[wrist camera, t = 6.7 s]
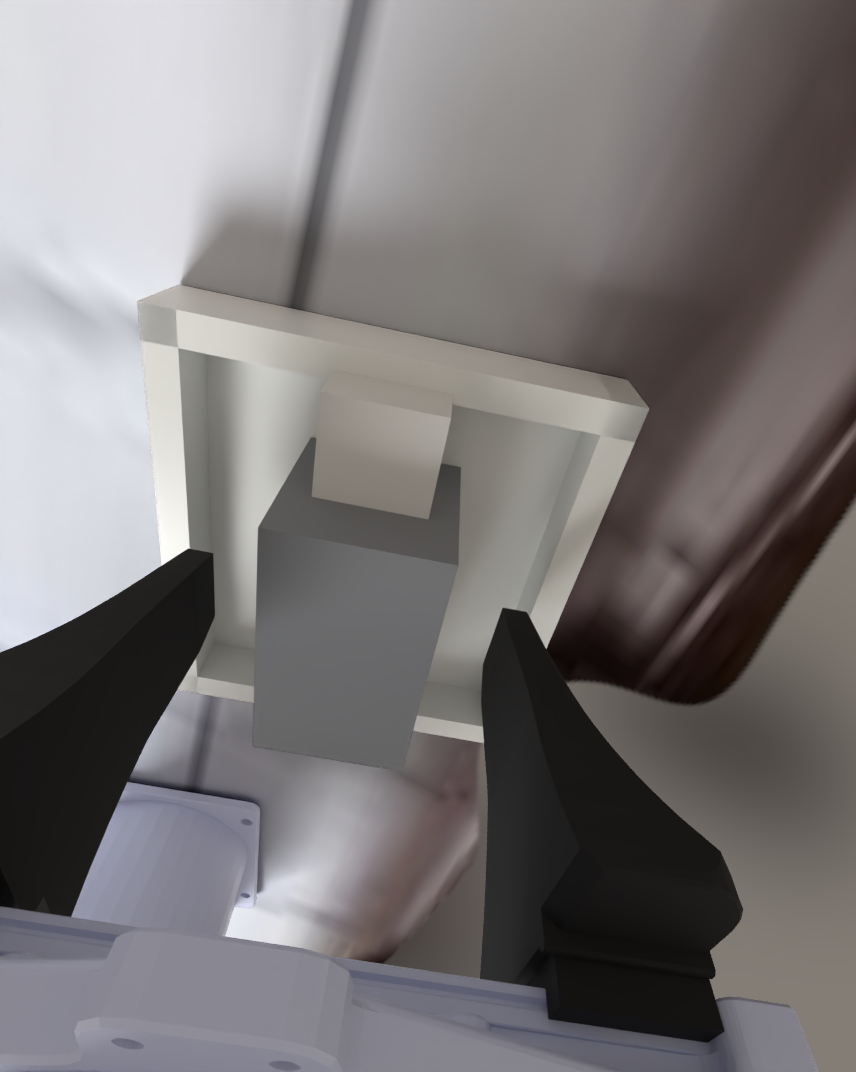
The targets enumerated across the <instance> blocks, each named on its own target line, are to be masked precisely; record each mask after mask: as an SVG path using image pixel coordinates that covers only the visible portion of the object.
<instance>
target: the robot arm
mask: <svg viewBox="0 0 856 1072" xmlns="http://www.w3.org/2000/svg"><path fill="white" fill-rule="evenodd" d="M214 617H215V594H214V560H213V553H210V552H205V551H199V550H194V549H189V548H188V549H187V550H185V551H183V552H182V553H180V554H179V555H177V556H176V557H174V558H173V559H171V560H169V561H168V562H166V563H165V564H163V565H162V566H160V567H159V568H157V569H156V570H154V571H153V572H151V573H150V574H148V575H147V576H145V577H144V578H142V579H141V580H139V581H138V582H136V583H134V584H133V585H131V586H130V587H128V588H127V589H125V590H123V591H122V592H120V593H119V594H117V595H115V596H114V597H112V598H110V599H109V600H107V601H105V602H103V603H102V604H100V605H98V606H96V607H95V608H93V609H91V610H90V611H88V612H86V613H84V614H83V615H81V616H79V617H77V618H75V619H73V620H71V621H69V622H67V623H66V624H64V625H62V626H60V627H58V628H55V629H53V630H51V631H49V632H47V633H45V634H43V635H41V636H39V637H36V638H34V639H32V640H30V641H28V642H25V643H23V644H20V645H18V646H15V647H13V648H11V649H8V650H6V651H3V652H1V653H0V1072H819V1071H818V1068H817V1066H816V1063H815V1061H814V1058H813V1056H812V1053H811V1050H810V1048H809V1045H808V1043H807V1040H806V1038H805V1035H804V1032H803V1030H802V1027H801V1025H800V1022H799V1020H798V1017H797V1015H796V1012H795V1010H794V1009H793V1008H792V1007H791V1006H789V1005H786V1004H780V1003H773V1002H767V1001H760V1000H753V999H747V998H740V997H724V998H719V999H716V1000H715V997H714V994H713V990H712V987H711V984H710V980H709V979H713V977H715V967H714V964H713V961H712V958H711V954H710V950H711V949H712V948H713V947H715V945H717V944H718V943H719V942H720V941H721V940H722V939H723V938H725V937H726V936H727V935H728V934H729V933H730V932H732V930H733V929H734V928H735V926H737V924H738V923H739V921H740V920H741V917H742V912H743V908H742V905H741V903H740V900H739V897H738V894H737V891H736V888H735V885H734V882H733V880H732V877H731V874H730V872H729V870H728V867H727V865H726V863H725V861H724V858H723V856H722V854H721V852H720V851H719V850H718V849H717V848H716V847H715V846H714V845H712V844H711V843H710V842H709V841H708V840H706V839H705V838H704V837H703V836H702V835H700V834H699V833H698V832H697V831H696V830H694V829H693V828H692V827H691V826H690V825H688V824H687V823H686V822H685V821H684V820H683V819H682V818H680V817H679V816H678V815H677V814H676V813H675V812H674V811H673V810H672V809H671V808H670V807H669V806H667V804H665V803H664V802H663V801H662V800H661V799H660V798H659V797H658V796H657V795H656V794H655V793H654V792H653V791H652V790H651V789H650V788H649V787H648V786H647V785H646V784H645V783H644V782H643V781H642V780H641V779H640V778H639V777H638V776H637V775H636V774H635V772H634V771H633V770H632V769H631V768H630V767H629V766H628V765H627V764H626V763H625V762H624V760H623V759H622V758H621V757H620V756H619V755H618V754H617V753H616V751H615V750H614V749H613V748H612V747H611V746H610V744H609V743H608V742H607V741H606V739H605V738H604V737H603V736H602V734H601V733H600V732H599V730H598V729H597V728H596V727H595V725H594V724H593V723H592V722H591V720H590V719H589V717H588V716H587V714H586V713H585V712H584V710H583V709H582V707H581V706H580V704H579V703H578V701H577V700H576V698H575V697H574V695H573V694H572V692H571V691H570V689H569V687H568V686H567V684H566V682H565V681H564V679H563V677H562V676H561V674H560V672H559V671H558V669H557V667H556V665H555V664H554V662H553V660H552V658H551V657H550V655H549V653H548V651H547V649H546V647H545V646H544V644H543V642H542V640H541V638H540V636H539V634H538V632H537V630H536V628H535V626H534V624H533V622H532V620H531V618H530V616H529V615H528V613H527V612H525V611H519V610H514V609H509V608H502V611H501V614H500V617H499V619H498V622H497V625H496V628H495V631H494V634H493V637H492V640H491V642H490V645H489V648H488V651H487V654H486V657H485V660H484V662H483V670H482V690H481V708H482V722H483V736H484V748H485V761H486V774H487V789H488V827H487V830H488V831H487V861H486V862H487V863H486V889H485V908H484V926H483V942H482V957H481V972H480V979H478V978H471V977H464V976H458V975H451V974H445V973H437V972H431V971H424V970H418V969H411V968H405V967H398V966H392V965H385V964H378V963H372V962H365V961H359V960H352V959H345V958H339V957H332V956H328V955H325V954H321V953H318V952H314V951H310V950H306V949H303V948H297V947H290V946H284V945H277V944H270V943H264V942H257V941H250V940H244V939H237V938H231V937H225V934H226V931H227V928H228V925H229V922H230V918H231V915H232V912H233V909H234V907H240V908H252V907H254V905H255V902H256V899H257V878H258V854H259V830H260V808H259V807H258V806H257V805H256V804H254V803H251V802H246V801H240V800H234V799H228V798H222V797H216V796H210V795H204V794H198V793H192V792H186V791H180V790H173V789H167V788H161V787H155V786H149V785H143V784H137V783H131V782H128V780H129V778H130V775H131V773H132V771H133V769H134V767H135V765H136V763H137V761H138V758H139V756H140V754H141V752H142V750H143V748H144V746H145V744H146V742H147V740H148V738H149V736H150V735H151V733H152V731H153V729H154V727H155V726H156V724H157V722H158V721H159V719H160V717H161V716H162V714H163V712H164V711H165V709H166V707H167V706H168V704H169V702H170V701H171V699H172V697H173V696H174V694H175V692H176V691H177V689H178V687H179V686H180V684H181V683H182V681H183V679H184V678H185V676H186V674H187V672H188V671H189V669H190V667H191V666H192V664H193V662H194V661H195V659H196V657H197V655H198V654H199V652H200V650H201V648H202V645H203V643H204V641H205V639H206V636H207V634H208V632H209V629H210V627H211V624H212V622H213V620H214Z"/></svg>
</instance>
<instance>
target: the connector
mask: <svg viewBox="0 0 856 1072" xmlns="http://www.w3.org/2000/svg"><path fill="white" fill-rule="evenodd" d="M452 399H453V394H449V393H444V392H439V391H434V390H430V389H425V388H420V387H415V386H410V385H405V384H401V383H396V382H391V381H386V380H381V379H376V378H372V377H367V376H362V375H357V374H352V373H347V372H342V371H338V370H334V372H333V373H332V375H331V376H330V378H329V379H328V381H327V382H326V384H325V385H324V387H323V388H322V390H321V391H320V402H319V414H318V426H317V438H312V437H311V438H310V440H309V441H308V443H307V445H306V446H305V448H304V450H303V452H302V453H301V455H300V457H299V458H298V460H297V462H296V463H295V465H294V467H293V469H292V470H291V472H290V474H289V475H288V477H287V479H286V480H285V482H284V484H283V486H282V487H281V489H280V491H279V492H278V494H277V496H276V497H275V499H274V501H273V503H272V504H271V506H270V508H269V509H268V511H267V513H266V514H265V516H264V518H263V520H262V521H261V523H260V525H259V526H258V543H257V584H256V625H255V667H254V708H253V746H254V747H260V748H266V749H272V750H278V751H284V752H289V753H295V754H301V755H307V756H313V757H319V758H325V759H331V760H337V761H343V762H348V763H354V764H360V765H366V766H372V767H378V768H384V769H390V770H396V771H402V769H403V765H404V762H405V758H406V754H407V751H408V747H409V743H410V740H411V736H412V733H413V729H414V725H415V722H416V718H417V714H418V711H419V707H420V703H421V700H422V696H423V693H424V689H425V685H426V682H427V678H428V674H429V671H430V667H431V663H432V660H433V656H434V653H435V649H436V645H437V642H438V638H439V634H440V631H441V627H442V623H443V620H444V616H445V613H446V609H447V605H448V602H449V598H450V594H451V591H452V587H453V583H454V580H455V576H456V573H457V569H458V562H459V523H460V484H461V467H457V466H452V465H447V464H442V463H441V461H442V457H443V452H444V448H445V443H446V439H447V434H448V430H449V426H450V421H451V413H452Z"/></svg>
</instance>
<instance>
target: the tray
mask: <svg viewBox="0 0 856 1072" xmlns="http://www.w3.org/2000/svg"><path fill="white" fill-rule="evenodd" d="M137 308H138V319H139V329H140V340H141V351H142V361H143V372H144V383H145V393H146V404H147V415H148V425H149V436H150V447H151V457H152V468H153V479H154V489H155V500H156V511H157V522H158V532H159V543H160V554H161V564H162V565H163V564H165V563H166V562H168V561H169V560H171V559H173V558H174V557H176V556H177V555H179V554H180V553H182V552H183V551H185V550H187V549H188V548H189V549H194V550H199V551H205V552H210V553H213V560H214V594H215V617H214V620H213V622H212V624H211V627H210V629H209V632H208V634H207V636H206V639H205V641H204V643H203V645H202V648H201V650H200V652H199V654H198V655H197V657H196V659H195V661H194V662H193V664H192V666H191V667H190V669H189V671H188V672H187V674H186V676H185V678H184V679H183V681H182V683H181V684H180V686H179V687H178V689H177V690H181V691H187V692H193V693H198V694H204V695H210V696H216V697H221V698H227V699H233V700H239V701H244V702H250V703H254V667H255V625H256V584H257V543H258V526H259V525H260V523H261V521H262V520H263V518H264V516H265V514H266V513H267V511H268V509H269V508H270V506H271V504H272V503H273V501H274V499H275V497H276V496H277V494H278V492H279V491H280V489H281V487H282V486H283V484H284V482H285V480H286V479H287V477H288V475H289V474H290V472H291V470H292V469H293V467H294V465H295V463H296V462H297V460H298V458H299V457H300V455H301V453H302V452H303V450H304V448H305V446H306V445H307V443H308V441H309V440H310V438H311V437H312V438H317V426H318V414H319V402H320V391H321V390H322V388H323V387H324V385H325V384H326V382H327V381H328V379H329V378H330V376H331V375H332V373H333V372H334V370H338V371H342V372H347V373H352V374H357V375H362V376H367V377H372V378H376V379H381V380H386V381H391V382H396V383H401V384H405V385H410V386H415V387H420V388H425V389H430V390H434V391H439V392H444V393H449V394H453V399H452V413H451V421H450V426H449V430H448V434H447V439H446V443H445V448H444V452H443V457H442V461H441V463H442V464H447V465H452V466H457V467H461V484H460V523H459V562H458V569H457V573H456V576H455V580H454V583H453V587H452V591H451V594H450V598H449V602H448V605H447V609H446V613H445V616H444V620H443V623H442V627H441V631H440V634H439V638H438V642H437V645H436V649H435V653H434V656H433V660H432V663H431V667H430V671H429V674H428V678H427V682H426V685H425V689H424V693H423V696H422V700H421V703H420V707H419V711H418V714H417V718H416V722H415V725H414V729H413V731H417V732H423V733H428V734H434V735H440V736H446V737H451V738H457V739H463V740H469V741H474V742H480V743H484V736H483V722H482V708H481V690H482V670H483V662H484V660H485V657H486V654H487V651H488V648H489V645H490V642H491V640H492V637H493V634H494V631H495V628H496V625H497V622H498V619H499V617H500V614H501V611H502V608H509V609H514V610H519V611H525V612H527V613H528V615H529V616H530V618H531V620H532V622H533V624H534V626H535V628H536V630H537V632H538V634H539V636H540V638H541V640H542V642H543V644H544V646H545V647H546V649H547V646H548V644H549V642H550V639H551V637H552V635H553V632H554V630H555V628H556V625H557V623H558V621H559V618H560V616H561V614H562V611H563V609H564V607H565V604H566V602H567V600H568V597H569V595H570V593H571V590H572V588H573V586H574V583H575V581H576V579H577V576H578V574H579V572H580V569H581V567H582V565H583V562H584V560H585V558H586V555H587V553H588V551H589V548H590V546H591V544H592V541H593V539H594V537H595V534H596V532H597V530H598V527H599V525H600V523H601V520H602V518H603V516H604V514H605V511H606V509H607V507H608V504H609V502H610V500H611V497H612V495H613V493H614V490H615V488H616V486H617V483H618V481H619V479H620V476H621V474H622V472H623V469H624V467H625V465H626V462H627V460H628V458H629V455H630V453H631V451H632V448H633V446H634V444H635V441H636V439H637V437H638V434H639V432H640V430H641V427H642V425H643V423H644V420H645V418H646V416H647V413H648V411H649V408H648V406H647V405H646V404H645V402H644V401H643V400H642V398H641V397H640V396H639V394H638V393H637V392H636V390H635V389H634V388H633V386H632V385H631V384H630V382H629V381H628V380H626V379H622V378H617V377H612V376H608V375H603V374H598V373H593V372H589V371H584V370H579V369H575V368H570V367H565V366H560V365H556V364H551V363H546V362H542V361H537V360H532V359H527V358H523V357H518V356H513V355H509V354H504V353H499V352H494V351H490V350H485V349H480V348H476V347H471V346H466V345H461V344H457V343H452V342H447V341H443V340H438V339H433V338H428V337H424V336H419V335H414V334H410V333H405V332H400V331H395V330H391V329H386V328H381V327H377V326H372V325H367V324H363V323H358V322H353V321H348V320H344V319H339V318H334V317H330V316H325V315H320V314H315V313H311V312H306V311H301V310H297V309H292V308H287V307H282V306H278V305H273V304H268V303H264V302H259V301H254V300H249V299H245V298H240V297H235V296H231V295H226V294H221V293H216V292H212V291H207V290H202V289H198V288H193V287H188V286H183V285H176V286H174V287H171V288H169V289H166V290H164V291H161V292H159V293H156V294H154V295H151V296H149V297H146V298H144V299H141V300H139V301H137Z"/></svg>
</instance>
